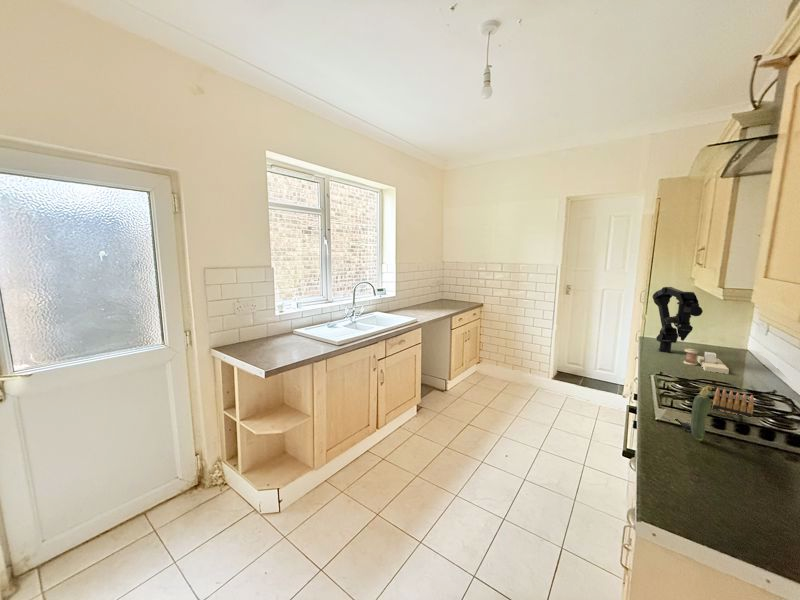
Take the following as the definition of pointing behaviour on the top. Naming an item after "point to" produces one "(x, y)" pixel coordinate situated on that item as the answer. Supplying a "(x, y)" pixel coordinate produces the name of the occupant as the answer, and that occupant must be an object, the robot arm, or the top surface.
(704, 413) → the vegetable
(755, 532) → the top surface
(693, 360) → the bobbin
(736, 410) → the ammunition clip
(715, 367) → the notched board
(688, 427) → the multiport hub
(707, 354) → the block
